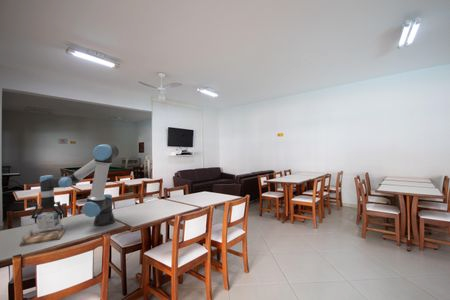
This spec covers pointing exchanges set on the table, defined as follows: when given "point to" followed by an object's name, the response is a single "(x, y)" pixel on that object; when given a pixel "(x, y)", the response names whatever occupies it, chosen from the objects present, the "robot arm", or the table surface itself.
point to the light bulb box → (48, 220)
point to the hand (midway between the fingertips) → (49, 225)
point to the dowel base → (42, 237)
